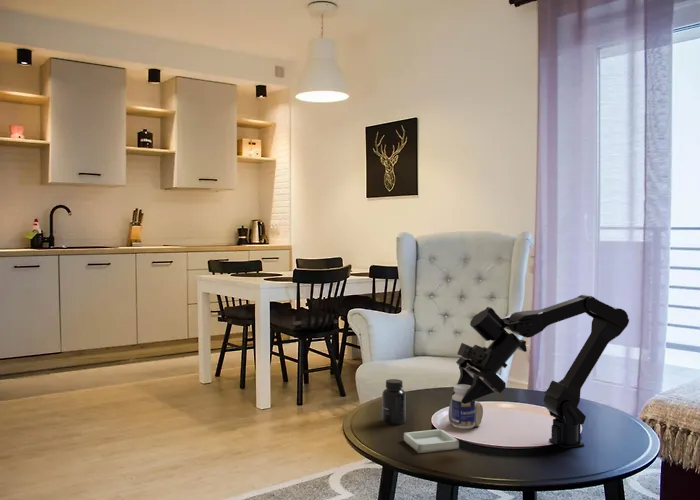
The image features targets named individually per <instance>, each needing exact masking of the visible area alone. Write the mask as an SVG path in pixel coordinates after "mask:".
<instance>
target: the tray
mask: <svg viewBox="0 0 700 500" xmlns="http://www.w3.org/2000/svg"><path fill="white" fill-rule="evenodd" d="M403 441H404V442H405V443H406V444H407V445H409V447H411V448H412V449H413V450H414V451H416V452H417V453H418V454H424V453H425V454H426V453H432V452H442V451H448V450H449V451H450V450H451V451H452V450H459V449H460V441H459V440H458V439H457V438H456V437H454V436H453V435H451V434H450V433H448V432H447V431H446V430H444V429H442V428H437V429H429V430H428V429H427V430H420V431H410V432H403Z"/></svg>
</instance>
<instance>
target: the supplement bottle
mask: <svg viewBox="0 0 700 500" xmlns="http://www.w3.org/2000/svg"><path fill="white" fill-rule="evenodd" d="M403 386H404V385H403V380H401V379H397V378H391V379H386V381H385V389H384V390H383V391H382V395H381V397H382V399H381V402H382V403H381V405H382V406H381V421H382V422H383V424H386V425H391V426H399V425H402V424H404V423H405V422H406V413H407V411H406V409H407V406H406V405H407V404H406V402H407V400H406V399H407V398H406V396H407V395H406V391H405V390H404V389H403V388H404V387H403Z"/></svg>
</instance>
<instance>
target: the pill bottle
mask: <svg viewBox="0 0 700 500" xmlns="http://www.w3.org/2000/svg"><path fill="white" fill-rule="evenodd" d="M470 387H471V386H470V385H465V384H458V385H457V384H454V385H453V392H455V394H454V395H452V396H451V400H452V423H451V425H452V426H453V427H456V428H457V429H472V428H475V427H474V426H475V401H476V399H475V400H473V401H471V402H469V403H466V404H463V403H462V402H461V401H462V399H463V397H464V396H465V394H466V393H467V391H468V390H469V388H470Z"/></svg>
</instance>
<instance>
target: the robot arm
mask: <svg viewBox="0 0 700 500" xmlns="http://www.w3.org/2000/svg"><path fill="white" fill-rule="evenodd" d="M582 314H586V315H587V316H589V317H591V318H592V320H591V331H590V334H589V336H588V337H587V339H586V341H585V342H584V344H583V346H582V347H581V349H580V351H578V353H577V356H576V358H575V359H574V360H573V361H572V363H571V365H570V367H569V369H568V370H567V372H566V374H565V375H564V377H563V378H562V379H561V380H559V381H555V380H552V381H551V382H550V383H549V385H548V388H546V390H545V391H544V392H543V393H544V394H545V395H544V397H543V404H544V407H545V408H546V409H547V411H548V412H549V415H550V416H551V417H553V419H552V425H551V438H548V441H549V442H551V443H553V444H555V443H556V444H555V445H557V444H559V446H558V447H561V448H562V449H569V448H578V447H584V446H585V443H584V442H582V441H581V428H582V427H581V425H584V424H585V421H586V418H587V416H586V415H585V414H584V413H583V412H582V411H581V410H580V409H579V408H578V407H579V404H580V402H581V390H582V387H583V385H584V384H585V383H586V382H587V379H588V378H589V376H590V374H591V373H592V371H593V369H594V367H595V366H596V364H597V363H598V361H599V360H600V358H601V356H602V355H603V353H604V351H605V349H607V346H608V344H609V343H610V342H611V341H613V340H614V339H616V338H617V337H619V336H620V335H621V334H622V333H623V332H624V330H625V329H626V328H627V327H628V326H629V323H630V319H629V314H628V313H627V311H625V310H624V309H622V308H618V307H615V306H614V307H613V306H612V305H609V304H607V303H604V302H603V301H601V300H599V299H597V298H596V297H594V296H592V295H587V294H581V295H578V296H576V297H574V298H572V299H571V298H570V299H568V300H566V301H562V302H559V303H556V304H553V305H550V306H547V307H544V308H541V309H535V310H523V311H516V312H514V313H512V314H511V315H510V316H509V317H504V318H501V317H500V316H499V315H498V314H497V312H496V311H495V310H494V308H492V307H490V306H486V308H485V309H484V310H483V309H482V310H481V311H480V312H478V313H476V314H475V315H474V316H473V317H472V319H471V320H470V322H469V326H471V328H472V329H474V331H475V332H476V333H478V334H479V335H480V336H481V338H482V339H483V340H484V341H487V342H488V341H492V342H491V343H490V344H489V346H488V347H486V346H479V345H478V344H474V345H473V346H470V345H468V344H466V343H464V342H461V343H460V346H459V348H458V351H457V353H456V354H457V355H459V356H460V357H458V358H459V359H457V361H455V363H456V364H457V365H458V369H459V379H458V381H457V383H456V385H458V384H465V385H470V386H471V387H470V388H469V390H468V391H467V393H466V394H465V396H464V397H463V399H462V401H461V402H462V403H463V404H466V403H469V402H471V401H473V400H475V401H476V400H477V399H480V398H482V397H486V396H487V395H490V394H495V392H496V393H498V394H499V395H502V394H503V392H504V391H505V390H506V389H507V387H506V385H507V384H506V383H507V382H505V381H504V380H503V379H502V378H501V377H500V376H499V374H497V373H499V371H500V370H501V369H502V368H504V369H506V368H507V367H508V364H507V362H508V360H510V358H511V357H512V356H513V355H514V354H515V352H516V351H517V350H519V351H521V352H524V353H526V352H528V351H527V346H526V345H527V341H526V340H524V339H519V337H523V338H532V337H535V336H536V335H538V334H540V333H541V332H543V331H544V330H545V329H546V328H547V327H549V326H550V325H553V324H556V323H558V322H561V321H564V320H567V319H570V318H573V317H576V316H579V315H582ZM508 330H509V331H510V333H509V332H508ZM517 335H518V336H519V337H517ZM454 394H455V392H454V391H452V396H453V395H454Z"/></svg>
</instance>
